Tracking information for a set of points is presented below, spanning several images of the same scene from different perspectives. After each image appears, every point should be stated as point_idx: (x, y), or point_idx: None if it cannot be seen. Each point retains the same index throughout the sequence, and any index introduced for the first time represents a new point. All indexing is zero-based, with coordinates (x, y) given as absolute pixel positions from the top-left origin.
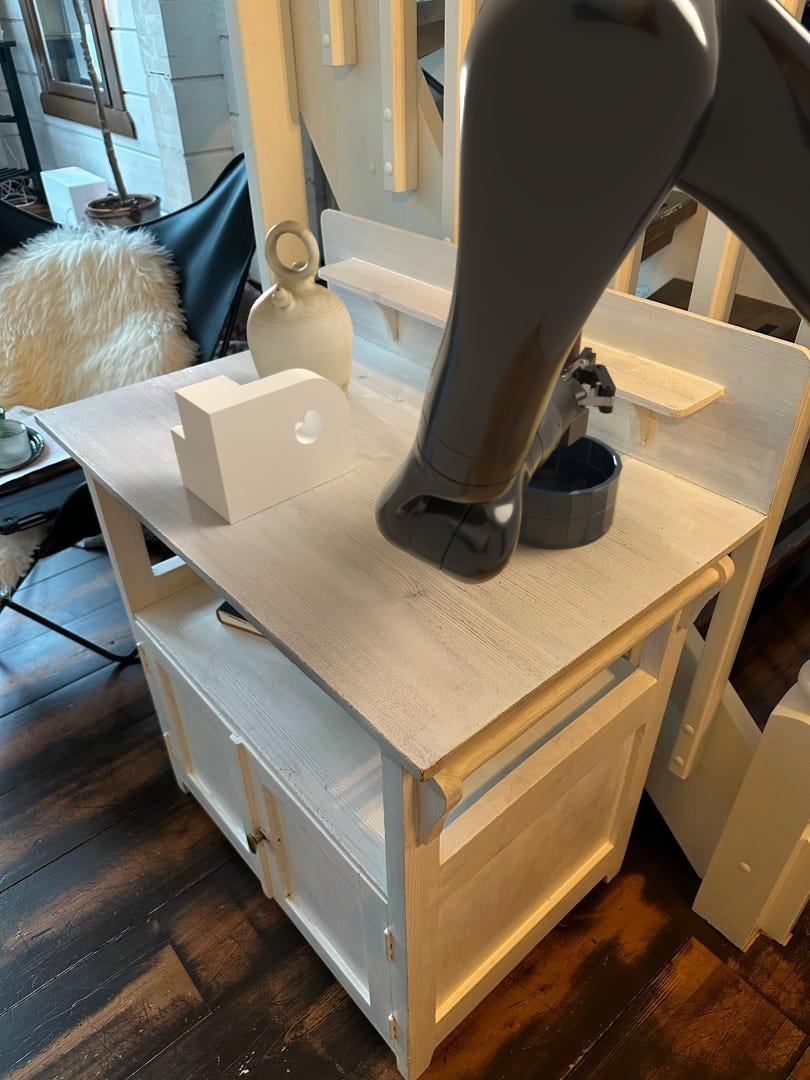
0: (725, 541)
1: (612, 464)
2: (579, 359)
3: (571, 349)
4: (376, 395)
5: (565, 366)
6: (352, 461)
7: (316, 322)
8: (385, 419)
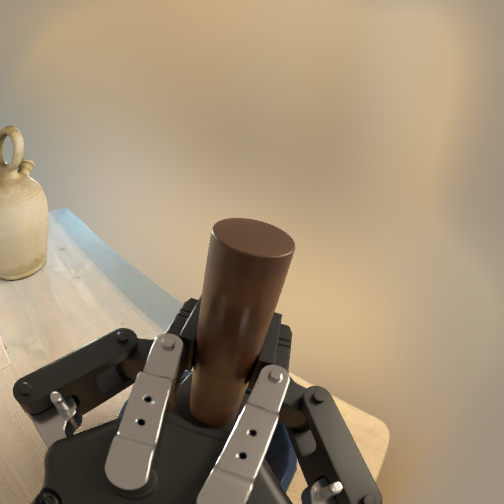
0: (376, 471)
1: (281, 431)
2: (265, 367)
3: (248, 347)
4: (63, 269)
5: (237, 431)
6: (6, 358)
7: (6, 208)
8: (58, 298)
